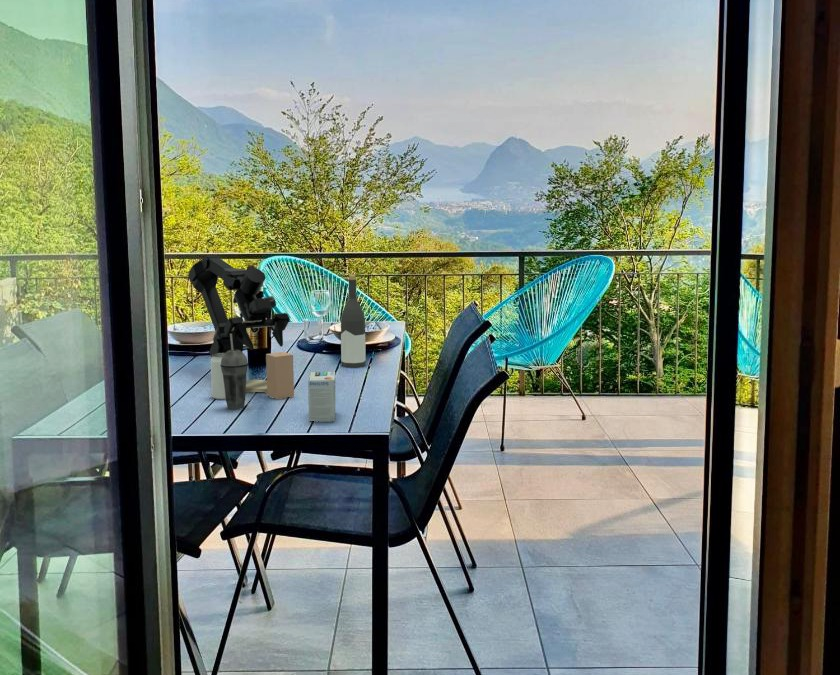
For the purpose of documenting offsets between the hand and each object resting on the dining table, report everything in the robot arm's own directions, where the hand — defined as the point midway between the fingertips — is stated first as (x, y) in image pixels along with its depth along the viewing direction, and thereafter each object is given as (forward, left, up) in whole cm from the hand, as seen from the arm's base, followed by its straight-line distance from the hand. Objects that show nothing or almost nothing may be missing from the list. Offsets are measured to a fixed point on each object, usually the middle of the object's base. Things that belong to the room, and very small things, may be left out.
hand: (267, 347), depth 248 cm
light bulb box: (+26, -22, -13) cm, 36 cm away
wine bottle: (+10, +44, -13) cm, 47 cm away
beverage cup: (0, -19, -13) cm, 23 cm away
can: (-9, -9, -13) cm, 19 cm away
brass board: (-4, +4, -13) cm, 14 cm away
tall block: (+6, -4, -13) cm, 15 cm away
